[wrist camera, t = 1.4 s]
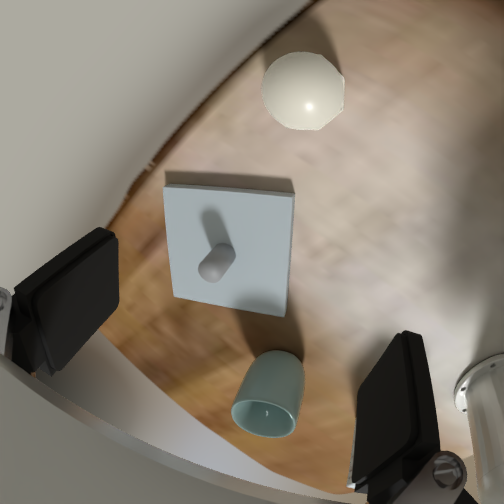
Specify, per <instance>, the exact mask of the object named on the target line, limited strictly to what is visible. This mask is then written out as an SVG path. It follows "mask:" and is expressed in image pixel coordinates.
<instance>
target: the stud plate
mask: <svg viewBox="0 0 504 504" xmlns="http://www.w3.org/2000/svg"><path fill="white" fill-rule="evenodd" d="M163 197H164V210H165V221H166V232H167V242H168V251H169V260H170V269H171V277H172V285H173V293H174V296H175V297H179V298H184V299H189V300H194V301H199V302H204V303H209V304H214V305H219V306H224V307H230V308H235V309H240V310H246V311H251V312H257V313H262V314H268V315H274V316H280V317H284V316H285V313H286V310H287V299H288V287H289V275H290V262H291V248H292V234H293V218H294V202H295V193H285V192H275V191H264V190H253V189H241V188H229V187H215V186H200V185H184V184H168V185H166V186H164V187H163Z"/></svg>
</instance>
